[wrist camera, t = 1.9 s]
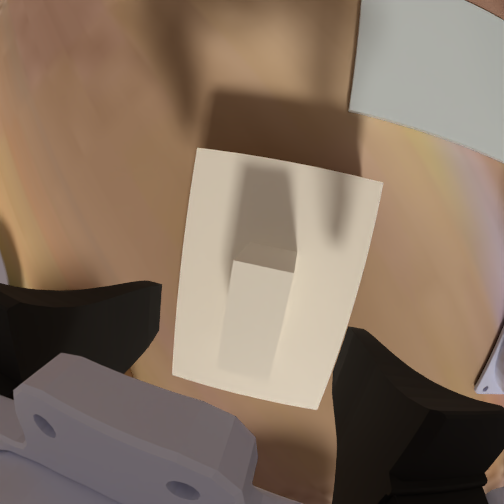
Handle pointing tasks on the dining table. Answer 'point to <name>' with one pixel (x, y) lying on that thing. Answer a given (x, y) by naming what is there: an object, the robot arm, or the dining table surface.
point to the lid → (269, 274)
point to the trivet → (433, 70)
